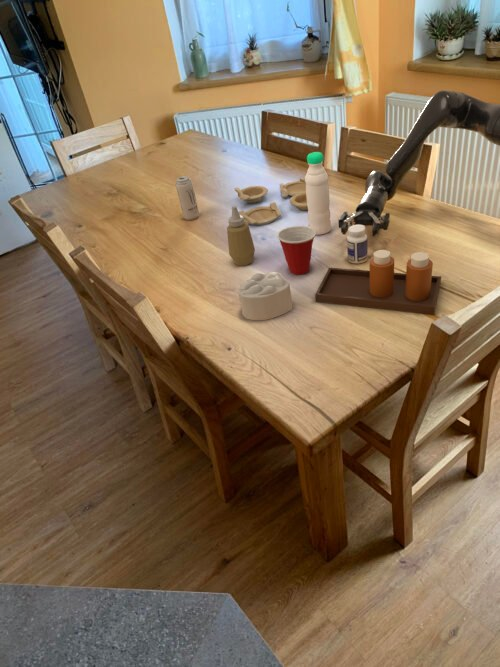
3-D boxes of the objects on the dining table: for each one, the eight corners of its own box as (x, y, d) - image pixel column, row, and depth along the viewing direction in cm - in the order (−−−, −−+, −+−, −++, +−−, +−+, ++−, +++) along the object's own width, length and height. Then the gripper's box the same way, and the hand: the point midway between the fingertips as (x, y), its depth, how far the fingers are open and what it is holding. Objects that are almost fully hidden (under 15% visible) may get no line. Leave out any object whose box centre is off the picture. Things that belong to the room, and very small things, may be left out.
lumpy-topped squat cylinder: (296, 309, 129) (293, 281, 124) (250, 326, 127) (245, 298, 121) (279, 291, 137) (276, 264, 132) (236, 306, 135) (231, 279, 129)
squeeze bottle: (248, 269, 149) (239, 214, 138) (226, 266, 153) (214, 211, 142) (261, 256, 154) (252, 201, 143) (239, 253, 158) (229, 199, 147)
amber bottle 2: (431, 288, 126) (434, 250, 120) (428, 302, 122) (431, 263, 115) (407, 286, 129) (409, 249, 122) (403, 299, 125) (405, 261, 118)
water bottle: (314, 224, 165) (308, 149, 150) (334, 226, 162) (330, 150, 147) (305, 234, 161) (298, 158, 146) (326, 236, 158) (321, 158, 142)
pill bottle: (368, 253, 146) (367, 223, 140) (367, 264, 141) (367, 232, 135) (348, 254, 147) (347, 223, 141) (346, 264, 143) (345, 233, 137)
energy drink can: (194, 221, 182) (184, 182, 172) (181, 220, 184) (170, 181, 175) (203, 214, 185) (194, 175, 176) (190, 213, 188) (180, 174, 179)
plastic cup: (326, 266, 144) (324, 228, 137) (302, 283, 139) (298, 245, 131) (297, 256, 151) (294, 220, 143) (274, 272, 145) (268, 236, 138)
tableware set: (243, 231, 170) (241, 220, 167) (226, 200, 193) (224, 190, 190) (339, 206, 173) (339, 195, 171) (311, 179, 196) (311, 169, 194)
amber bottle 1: (395, 285, 130) (396, 248, 123) (391, 298, 126) (392, 260, 119) (372, 283, 132) (372, 246, 125) (367, 296, 128) (367, 259, 121)
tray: (440, 283, 129) (441, 276, 127) (433, 314, 119) (434, 307, 118) (329, 274, 140) (329, 267, 139) (315, 301, 131) (315, 294, 129)
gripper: (347, 195, 152) (333, 219, 141) (395, 196, 146) (384, 221, 135) (348, 217, 157) (334, 242, 145) (394, 219, 151) (383, 245, 140)
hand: (358, 232), depth 140 cm, fingers open, 8 cm apart
